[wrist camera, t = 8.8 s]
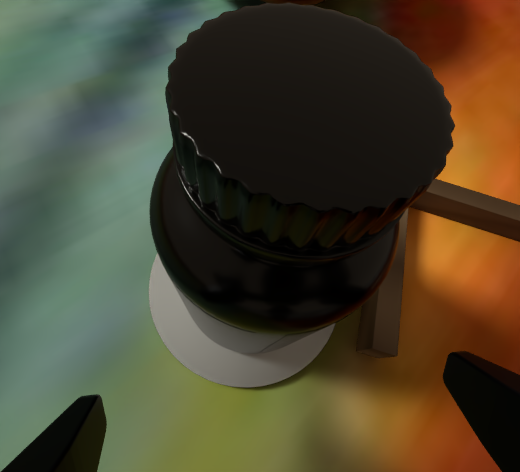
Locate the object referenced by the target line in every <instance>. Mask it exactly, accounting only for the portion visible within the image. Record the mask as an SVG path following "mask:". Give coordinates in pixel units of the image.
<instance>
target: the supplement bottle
mask: <svg viewBox="0 0 520 472" xmlns="http://www.w3.org/2000/svg"><path fill="white" fill-rule="evenodd" d="M168 79H169V82H168V84H167V86H166V91H165V95H166V103H167V108H168V113H169V122H170V127H171V132H172V137H173V147H172V149H171V150H170V151H169V153H168V154H167V156H166V157H165V159H164V161H163V162H162V164H161V166H160V168H159V171H158V173H157V175H156V178H155V181H154V184H153V188H152V193H151V198H150V226H151V232H152V236H153V240H154V243H155V247H156V250H157V252H158V255H159V257H160V260H161V262H162V265H163V267H164V268H165V270H166V272H167V274H168V276H169V278H170V279H171V281H172V283H173V285H174V287H175V288H176V290H177V292H178V294H179V296H180V297H181V299H182V301H183V303H184V305H185V307H186V308H187V310H188V312H189V314H190V316H191V317H192V319H193V320H194V322H195V323H196V325H197V326H198V328H199V329H200V330H201V331H202V332H203V333H204V334H205V335H206V336H207V337H208V338H209V339H211V340H212V341H213V342H215V343H217V344H218V345H220V346H222V347H224V348H226V349H229V350H232V351H235V352H239V353H246V354H260V353H267V352H271V351H274V350H277V349H280V348H283V347H285V346H287V345H289V344H292V343H294V342H296V341H298V340H300V339H302V338H304V337H307V336H309V335H311V334H313V333H315V332H317V331H319V330H322V329H324V328H326V327H328V326H330V325H332V324H334V323H336V322H338V321H340V320H342V319H343V318H345V317H347V316H348V315H350V314H351V313H352V312H354V311H355V310H356V309H358V308H359V307H361V306H362V305H363V304H364V303H365V302H366V301H367V300H368V299H369V298H371V297H372V295H373V294H374V293H375V292H376V291H377V289H378V288H379V287H380V285H381V284H382V282H383V281H384V279H385V278H386V276H387V274H388V272H389V270H390V268H391V266H392V263H393V260H394V257H395V254H396V250H397V246H398V240H399V231H400V219H401V217H402V216H403V214H404V212H405V211H406V209H407V208H408V207H410V206H411V205H412V204H413V203H414V202H415V201H416V200H417V199H418V198H419V197H421V196H422V195H423V194H424V193H425V192H426V191H427V189H428V188H429V186H430V185H431V183H432V181H433V180H434V179H435V178H436V177H437V176H438V175H439V174H440V173H441V172H442V170H443V169H444V167H445V165H446V156H447V154H448V153H449V152H450V150H451V149H452V147H453V141H452V136H451V133H452V131H453V130H454V127H455V124H454V122H453V120H452V117H451V115H450V112H451V104H450V103H449V101H448V100H447V99H446V97H445V96H444V88H443V86H442V85H441V84H440V83H439V82H438V81H437V80H436V79H435V78H434V75H433V72H432V70H431V68H429V67H428V66H427V65H426V64H424V63H423V62H422V61H421V60H420V59H419V57H418V55H417V54H416V53H415V52H414V51H412V50H410V49H409V48H407V47H405V46H404V45H403V43H402V42H401V41H400V40H399V39H397V38H395V37H393V36H391V35H389V34H387V33H385V32H384V31H383V30H382V29H380V28H379V27H377V26H374V25H371V24H368V23H366V22H364V21H363V20H361V19H359V18H358V17H354V16H350V15H345V14H343V13H341V12H339V11H336V10H332V9H323V8H320V7H317V6H314V5H299V4H295V3H290V2H288V3H281V4H275V3H264V4H261V5H258V6H244V7H242V8H240V9H238V10H236V11H229V12H224V13H222V14H221V15H220V16H219V17H218V18H215V19H211V20H208V21H205V22H204V23H203V25H202V26H201V28H200V29H198V30H195V31H193V32H191V33H189V35H188V37H187V41H186V42H185V43H184V44H182V45H181V46H179V47H178V48H177V49H176V59H175V60H174V61H173V62H172V63H171V64H170V66H169V67H168Z"/></svg>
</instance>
